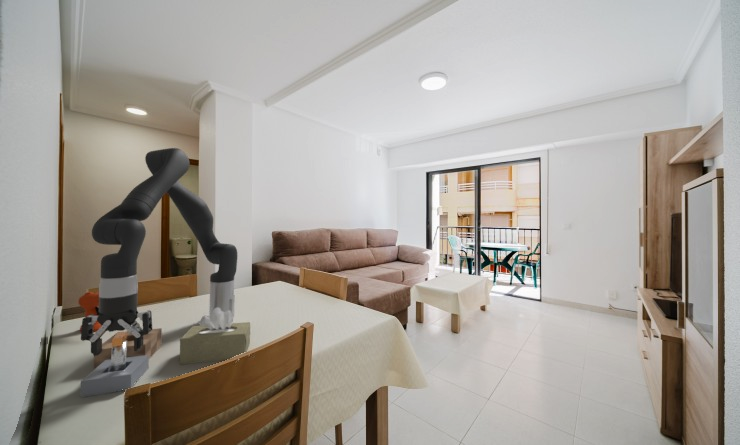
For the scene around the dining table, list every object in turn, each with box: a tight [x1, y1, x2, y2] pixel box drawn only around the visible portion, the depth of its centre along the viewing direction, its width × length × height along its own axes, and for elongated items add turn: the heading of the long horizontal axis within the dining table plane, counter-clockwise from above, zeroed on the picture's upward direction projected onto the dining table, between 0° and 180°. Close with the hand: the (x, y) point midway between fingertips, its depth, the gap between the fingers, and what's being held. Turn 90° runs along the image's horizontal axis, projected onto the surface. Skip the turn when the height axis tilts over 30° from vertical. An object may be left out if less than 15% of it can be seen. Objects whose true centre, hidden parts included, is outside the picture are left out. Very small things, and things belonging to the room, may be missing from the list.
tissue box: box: [179, 307, 251, 365], centre depth 87 cm, size 19×10×16 cm, turn 105°
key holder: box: [79, 355, 150, 398], centre depth 71 cm, size 10×10×4 cm
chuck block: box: [93, 327, 163, 370], centre depth 83 cm, size 12×12×6 cm
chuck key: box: [111, 330, 127, 372], centre depth 72 cm, size 7×3×12 cm, turn 35°
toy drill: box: [77, 291, 102, 333], centre depth 101 cm, size 5×19×15 cm, turn 91°
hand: (118, 351), depth 71 cm, fingers open, 8 cm apart
